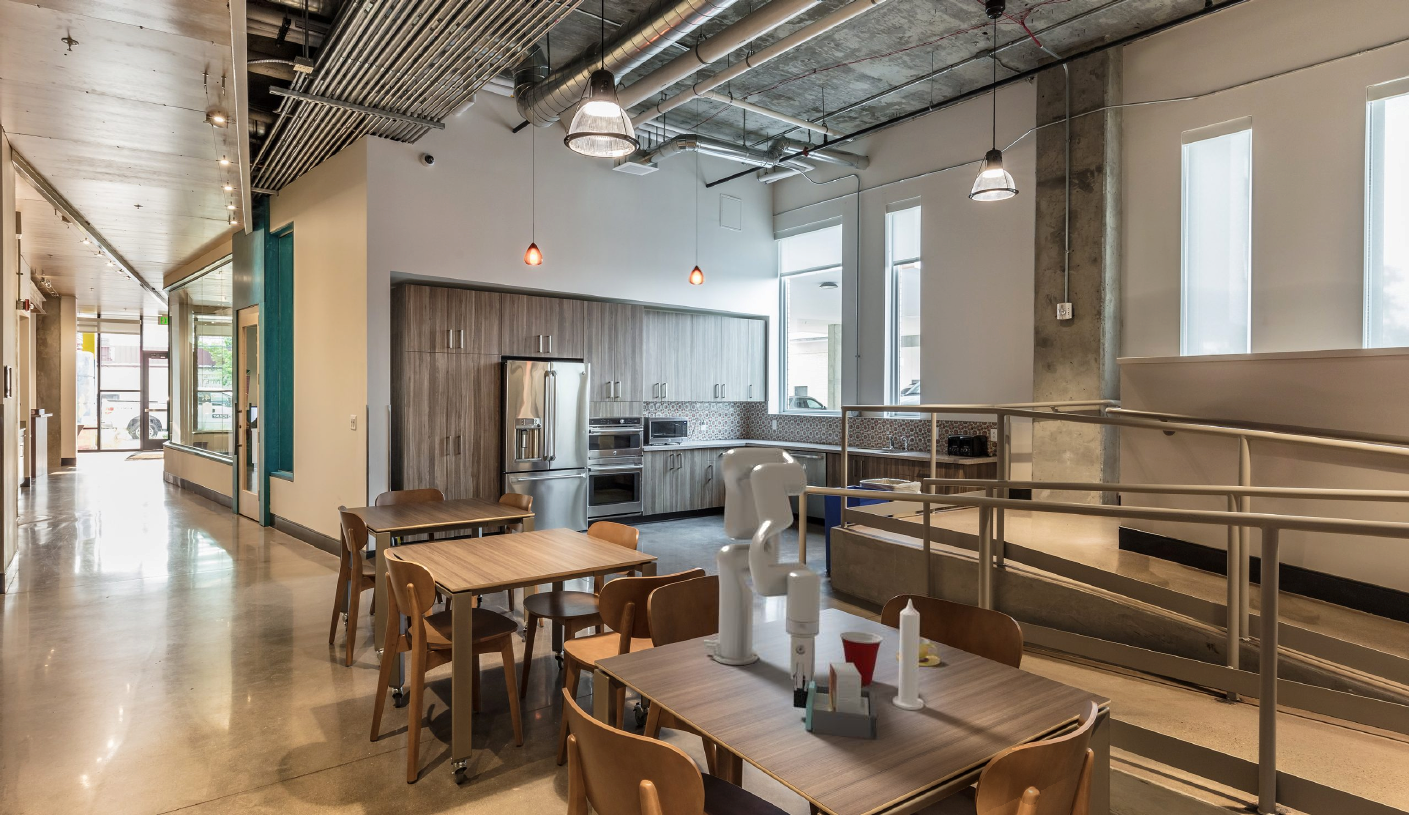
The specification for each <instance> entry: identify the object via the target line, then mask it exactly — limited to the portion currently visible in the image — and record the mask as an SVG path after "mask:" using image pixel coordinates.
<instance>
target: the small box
mask: <svg viewBox="0 0 1409 815" xmlns="http://www.w3.org/2000/svg"><path fill="white" fill-rule="evenodd" d="M828 685H829V708H830V710H831V711H834V712H844V713H854V714H860V702H861V688H862V686H861V675H860V673H859V672H858V670H857V669H856V667H855V665H854V663H846V662H832V661H831V662H829V682H828Z"/></svg>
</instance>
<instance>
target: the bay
mask: <svg viewBox="0 0 1409 815" xmlns="http://www.w3.org/2000/svg"><path fill="white" fill-rule="evenodd" d="M815 693H824V694H829V684H816V683H815ZM861 697H865V698H868V709H869V715H863V714H854V713H844V712H834V711H824V710H815V709H813V728H811V731H812V734H813V733H814V734H821V735H822V734H823V735H832V736H841V737H849V738H850V737H852V738H859V739H860V738H861V739H870V740H877V728H878V727H877V725H878V724H877V722H878V720H877V719H878V718H877V717H878V716H877V704H876V690H875V689H873V688H871V689H870V688H869V689H868V688H862V687H861Z"/></svg>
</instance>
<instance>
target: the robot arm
mask: <svg viewBox="0 0 1409 815" xmlns="http://www.w3.org/2000/svg"><path fill="white" fill-rule="evenodd" d="M721 473H722V478H723V482H724V486H725V501H724V504H725V505H724V516H723V517H724V520H723V528H724V533H725V536H726V537H727V538H728V539H731V540H732V541H733V540H734V541H748V540H749V541H751V542H750V543H749V542H746V543H745V542H744V543H742V542H741V543H731V544H726V545H724V546H722V547H720V548H719V549H718V550H717V551H718V552H717V554H716V568H717V573H718V581H719V583H718V584H719V589H718V591H719V596H718V597H719V599H718V600H719V601H718V602H719V605H718V608H719V609H718V639H714V640H711V639H703V641H702V642H703V643H702V645H703V647H705V649H706V650H713V651H712V658H713V659H714V660H715V661H716V662H719V663H721V664H724V665H729V666H730V665H732V666H733V665H734V666H743V665H745V666H746V665H749V664H753V663H755V662H756V661H757V660H758V659H759V655H758V654H759V653H758V652H757V651H756V650H755V649H753V645H754V644H753V640H754V637H753V636H754V635H753V634H754V593H753V590H752V588H751V587H750V586H749V585H748V583H747V581H746V579H751V582H752V585H753V588H754V590H755V591H756V593H757V594H758V595H759V596H761V597H763V598H764V597H765V598H772V597H786V607H785V609H786V611H785V632H786V633H787V634H788V635H790V655H789V657H790V679H791V680H792V681H794V687H793V701H792V702H793V703H792V704H793V708H798V709H806V703H807V697H808V691H809V686H808V684H809V683H810V682H812V681H814V677H815V671H816V669H815V668H816V664H815V662H816V637H817V636H818V635H820V612H821V611H820V610H821V609H820V608H821V606H820V605H821V604H820V603H821V598H820V597H821V577H820V575H819V573H818V572H816V571H814V570H812V569H810V567H808V565H807V564H805V563H802V562H782V563H781V562H780V553H781V552H780V550H781V535H782V534H781V533H782V531H785V530H786V529H787V528H789V527H790V526H791V525H793V522H794V516H793V511H792V506H791V503H790V498H789V496H792V497H793V496H801V495H802V494H804V493H805V491H806V489H807V485H808V479H807V475H806V472H805V470H804V467H803V466H802V465H801V463H800V462H799V461H798V460H797V459H796V458H794V456H792V455H791V454H790V453H789V452H788V451H786V450H785V449H783V448H779V447H736V448H732V449H729V450H728V451H726V452H725V453H724V454H723V457H722V461H721Z"/></svg>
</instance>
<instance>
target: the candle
mask: <svg viewBox="0 0 1409 815" xmlns="http://www.w3.org/2000/svg"><path fill="white" fill-rule="evenodd" d="M920 614H921V613H920V612H918V610H916V609H915V608H914V605H913V601H912V599H911V598H909V599H908V602H907V605H906V607H905V608H903V609H902V610H900V612H899V648H898V649H899V650H898V653H899V660H898V695H895V696H893V698H892V704H893V705H894V706H896V707H897V708H899V709H903V710H908V711H909V710H910V711H918V710H921V709H922V708H924V704H925V703H924V701H923V700H922V699H921V698H919V674H920V673H919V672H920V670H919V667H920V666H919V663H920V661H919V638H920V627H921V626H920V622H921V621H920V619H921V615H920Z"/></svg>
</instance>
